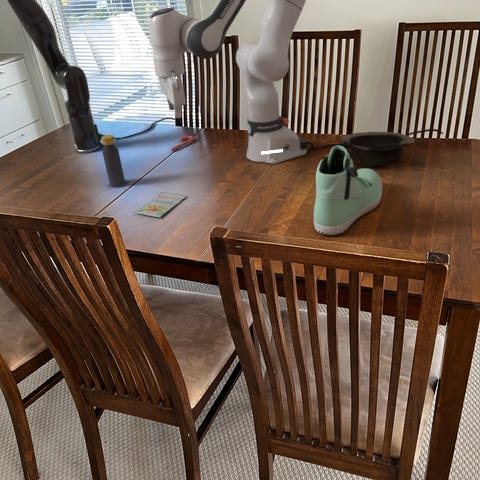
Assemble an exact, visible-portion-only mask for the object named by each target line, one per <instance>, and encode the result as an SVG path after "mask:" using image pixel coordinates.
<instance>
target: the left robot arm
mask: <svg viewBox="0 0 480 480" xmlns="http://www.w3.org/2000/svg"><path fill="white" fill-rule="evenodd" d="M6 1H7V3H8V5H9V6H10V7H11V10H12V11H13V12H14V14H15V16H16V18H17V19H18V21H19V23H20V24H21V26H22V27H23V29H24V31H25V33H26V34H27V35H28V37H29V38H30V40H31V42H32V43H33V45H34V46H35V48H36V49H37V51H38V52H39V54H40V55H41V57H42V59H43V60H44V62H45V64H46V65H47V67H48V70H49V72H50V73H51V76H52V78H53V80H54V82H55V83H56V85H58V86H59V88H60V89H63V90H65V91H66V96H67V100H65V102H64V106H65V110H66V114H67V115H66V116H67V118H68V122H69V126H70V130H71V133H72V137H73V145H74V147H75V150H76V152H77V153H80V154H87V153H92V152H96V151H97V150H99V149H100V148H102V138H101V137H102V136H104V135H105V134H102V133H100V132H99V129H98V125H97V123H95V121H94V116H93V113H92V108H91V104H90V102H91V101H90V100H91V94H90V89H89V84H88V78H87V75H86V73H85V71H84V70H83V69H82V68H81V67H79V66H77V65H72V64H70V63H69V61H67V59H66V58H65V56H64V55H63V53H62V51H61V49H60V46H59V43H58V37H57V33H56V30H55V27H54V25H53V23H52V21H51V19H50V18H49V16H48V14H47V13H46V11H45V10H44V9H43V7H42V6H41V5H40V4H39V3H38V2H37V0H6ZM165 120H172V121H176V120H177V118H173V117H170V116H169V117H168V116H167V117H164V118H161V119H158V120H157V121H154V122H152V123H151V125H150V126H149V127H148V128H147V129H145V130H142V131H139V132H136V133H133V134H129V135H126V136H123V137H121V136H120V137H115V136H113V138H114V140H123V139H129V138H131V137H135V136H138V135H141V134H144V133H146V132H148V131H150V130H151V129H152V128H153V126H154V125H156V124H158V123H160V122H162V121H165Z"/></svg>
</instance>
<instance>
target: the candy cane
mask: <svg viewBox="0 0 480 480" xmlns="http://www.w3.org/2000/svg"><path fill="white" fill-rule="evenodd" d="M179 141H180V142H181V143H179V144H176V145H174V146H173V147H171V148H170V151H171V152H174V151H177V150H179V149H180V148H182V147H184V146H186V145H188V144H191V143H193V142H194V141H195V137H194V136H193V135H184V136H181V137H180V138H179Z"/></svg>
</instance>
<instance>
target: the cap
mask: <svg viewBox="0 0 480 480" xmlns="http://www.w3.org/2000/svg"><path fill="white" fill-rule="evenodd" d="M103 135H104V136H102V137H101V138H102V140H101V144H102V145H104V146H105V145H111V144H113V145H114V144H115V139H114V138H113V137H114V135H113V134H103Z"/></svg>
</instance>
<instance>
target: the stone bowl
mask: <svg viewBox="0 0 480 480" xmlns="http://www.w3.org/2000/svg"><path fill="white" fill-rule="evenodd" d="M340 139H341V140H340V143H339V144H346V145H349V146H350V147H349V152H350V154H351V155H352V157H353V158H354V159H356V160H358V162H359V166H361V167H364V168H367V167H368V168H377V167H386V166H388V165H389V164H390V162H398V161H400V160H401V157H402V153H403V148H404V147H408V146H410V145H412V144H414V143H415V142H416V139H415V138H413V137H411V136H410V135H409V136H407V135H406V134H403V133H399V132H392V131H364V132H355V133H350V134H346V135H343V136H342V137H341V138H340Z"/></svg>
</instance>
